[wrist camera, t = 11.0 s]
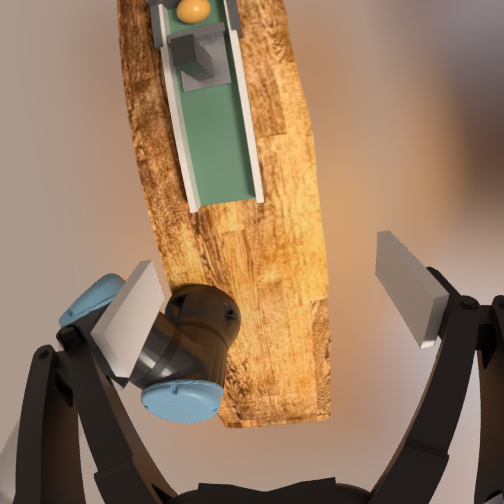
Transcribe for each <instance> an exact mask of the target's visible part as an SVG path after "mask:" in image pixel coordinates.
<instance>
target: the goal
mask: <svg viewBox="0 0 504 504" xmlns="http://www.w3.org/2000/svg"><path fill="white" fill-rule="evenodd" d="M181 1H182V0H145V2H146V3H147V4H148V5H149V6H150V11H151V21H152V30H153V38H154V46H155V49H157V50H158V51H160V52H161V47H164V45H163V38H162V30H161V22H160V13H159V5H160V4H162V5H163V6H164V7H165V8H166V9H167V10H169V9H173V8H176V7H177V6H178V4H179V3H180V2H181ZM227 3H228V8H229V14H230V19H231V25H232V30H233V31H234V30H236V31H237V35H238V38H239V39H240V38H243V34H242V29H241V23H240V18H239V13H238V7H237V2H236V0H227Z"/></svg>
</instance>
